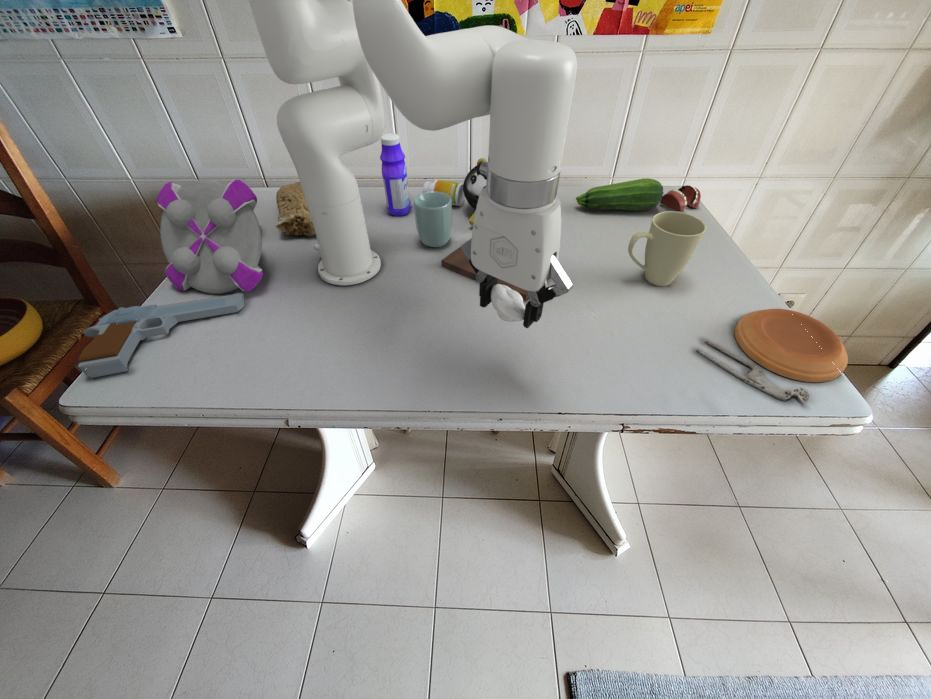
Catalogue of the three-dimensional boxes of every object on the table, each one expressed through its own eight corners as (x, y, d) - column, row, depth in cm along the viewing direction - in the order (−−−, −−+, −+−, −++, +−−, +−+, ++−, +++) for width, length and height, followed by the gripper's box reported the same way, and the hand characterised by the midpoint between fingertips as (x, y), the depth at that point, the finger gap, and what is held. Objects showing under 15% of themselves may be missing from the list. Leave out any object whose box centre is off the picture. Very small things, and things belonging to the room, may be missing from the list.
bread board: (441, 266, 87) (441, 257, 86) (478, 239, 95) (478, 231, 93) (525, 301, 79) (526, 292, 77) (558, 269, 86) (559, 260, 85)
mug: (644, 259, 88) (662, 204, 80) (690, 278, 83) (715, 222, 75) (616, 281, 83) (632, 225, 75) (663, 303, 78) (686, 246, 69)
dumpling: (483, 302, 61) (489, 277, 58) (518, 306, 61) (525, 282, 59) (491, 329, 55) (498, 302, 53) (529, 332, 56) (537, 306, 54)
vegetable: (669, 177, 96) (581, 177, 97) (665, 210, 99) (578, 210, 99) (657, 179, 103) (574, 180, 104) (653, 210, 105) (572, 210, 106)
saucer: (725, 302, 73) (718, 315, 76) (771, 369, 62) (761, 383, 64) (818, 301, 73) (808, 314, 75) (881, 369, 62) (868, 382, 64)
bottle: (409, 217, 102) (400, 141, 90) (386, 217, 102) (374, 141, 90) (412, 203, 107) (404, 130, 95) (390, 203, 107) (379, 130, 95)
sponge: (328, 241, 97) (336, 187, 108) (311, 214, 90) (322, 159, 101) (275, 252, 98) (288, 197, 109) (255, 226, 92) (271, 171, 103)
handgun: (71, 383, 65) (99, 323, 75) (242, 351, 71) (246, 299, 81) (57, 368, 63) (87, 308, 73) (235, 336, 69) (240, 284, 79)
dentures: (663, 185, 101) (687, 179, 105) (655, 203, 104) (678, 197, 108) (684, 196, 98) (708, 190, 101) (675, 215, 101) (699, 208, 105)
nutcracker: (693, 349, 69) (710, 334, 71) (692, 352, 69) (709, 338, 71) (799, 410, 60) (815, 392, 61) (796, 414, 60) (812, 396, 62)
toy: (183, 130, 73) (242, 154, 87) (111, 237, 78) (178, 243, 93) (284, 233, 73) (326, 240, 88) (205, 332, 79) (257, 323, 93)
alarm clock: (456, 229, 105) (444, 164, 99) (507, 218, 109) (499, 155, 104) (476, 230, 94) (464, 158, 89) (531, 217, 99) (523, 148, 94)
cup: (448, 253, 91) (446, 209, 84) (413, 250, 92) (408, 206, 85) (456, 235, 96) (455, 192, 89) (423, 232, 97) (419, 189, 90)
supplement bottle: (461, 179, 102) (425, 174, 104) (456, 200, 102) (419, 194, 104) (467, 189, 107) (432, 184, 110) (461, 209, 107) (426, 204, 109)
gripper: (437, 175, 47) (442, 301, 59) (581, 223, 39) (551, 355, 52) (476, 153, 51) (473, 276, 64) (612, 193, 44) (578, 322, 57)
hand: (509, 310), depth 58 cm, fingers closed on dumpling, 6 cm apart
